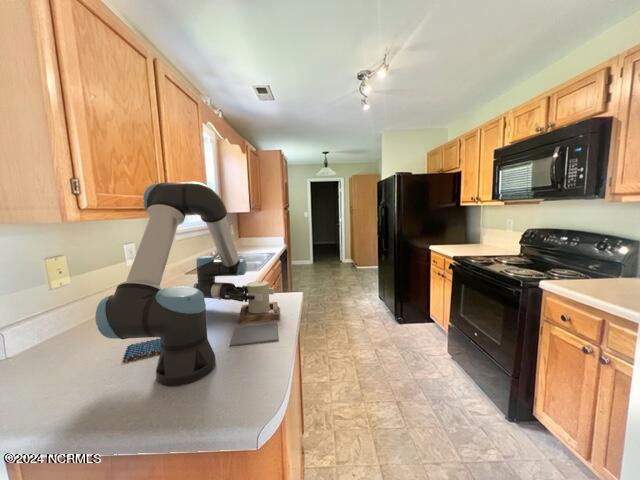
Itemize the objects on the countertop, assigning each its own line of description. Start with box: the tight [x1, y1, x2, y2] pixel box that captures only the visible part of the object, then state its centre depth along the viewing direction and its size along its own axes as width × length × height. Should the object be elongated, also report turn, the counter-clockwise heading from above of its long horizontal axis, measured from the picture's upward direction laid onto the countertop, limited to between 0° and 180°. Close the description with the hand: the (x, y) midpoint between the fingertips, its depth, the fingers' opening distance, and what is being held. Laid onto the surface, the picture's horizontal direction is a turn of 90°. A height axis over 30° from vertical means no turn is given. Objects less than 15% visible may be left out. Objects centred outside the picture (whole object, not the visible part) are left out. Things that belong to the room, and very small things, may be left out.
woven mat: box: [122, 338, 161, 363], centre depth 88 cm, size 10×11×2 cm
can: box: [246, 280, 271, 314], centre depth 116 cm, size 9×9×12 cm
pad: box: [229, 322, 279, 348], centre depth 97 cm, size 16×14×1 cm
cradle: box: [237, 301, 280, 324], centre depth 117 cm, size 16×16×2 cm
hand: (267, 294), depth 114 cm, fingers closed on can, 9 cm apart
